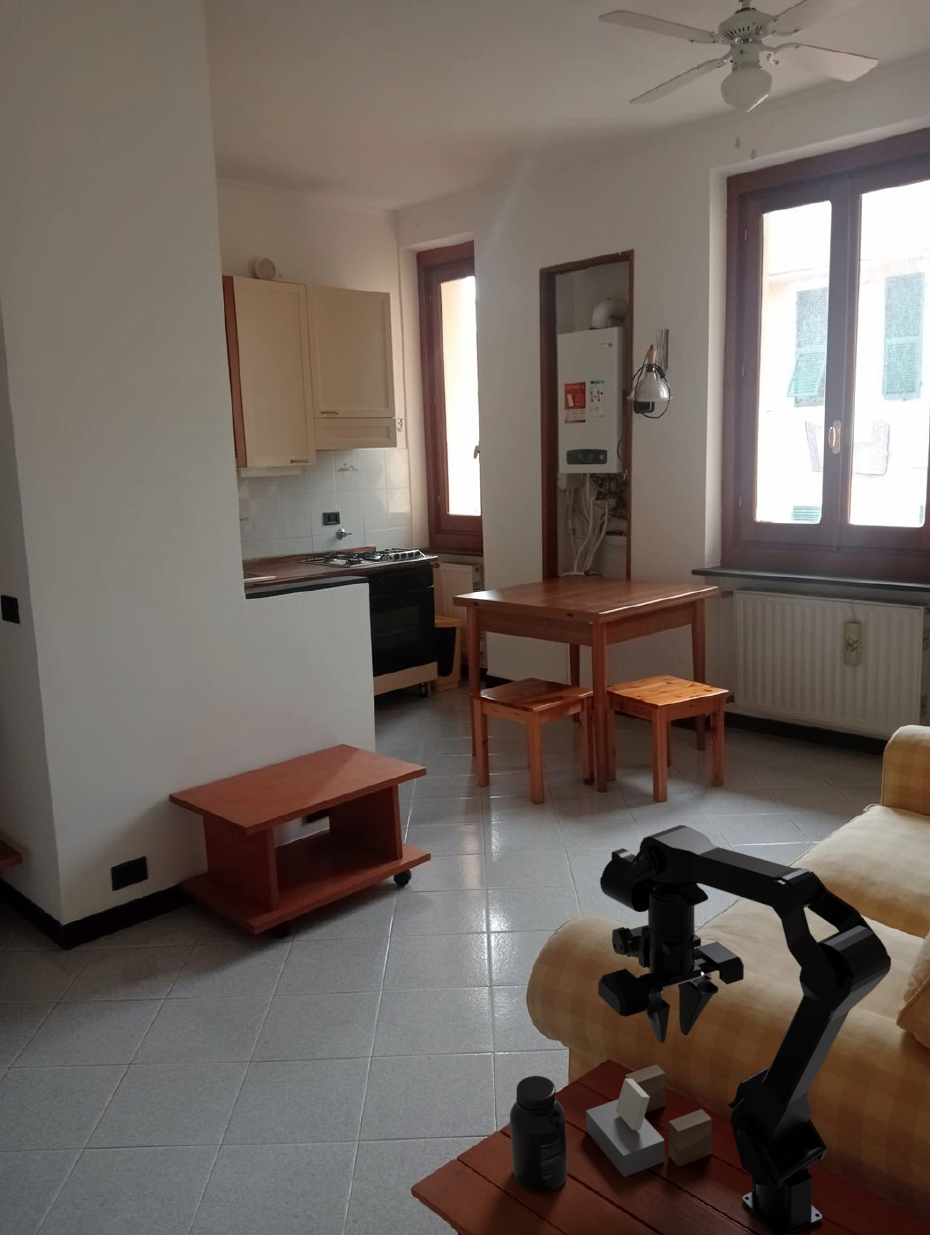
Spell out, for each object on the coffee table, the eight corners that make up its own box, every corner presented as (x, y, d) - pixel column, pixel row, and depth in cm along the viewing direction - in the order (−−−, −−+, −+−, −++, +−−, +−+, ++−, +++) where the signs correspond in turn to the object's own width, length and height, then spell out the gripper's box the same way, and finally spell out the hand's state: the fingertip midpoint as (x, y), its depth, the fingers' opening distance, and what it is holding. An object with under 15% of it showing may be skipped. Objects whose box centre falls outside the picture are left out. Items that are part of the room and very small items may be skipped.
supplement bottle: (567, 1155, 121) (564, 1070, 119) (568, 1196, 114) (565, 1107, 112) (513, 1153, 122) (510, 1069, 120) (511, 1194, 115) (507, 1106, 113)
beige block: (711, 1153, 120) (711, 1118, 119) (678, 1167, 118) (678, 1131, 117) (701, 1143, 122) (701, 1108, 121) (669, 1156, 120) (668, 1121, 119)
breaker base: (664, 1161, 119) (664, 1139, 119) (623, 1177, 117) (623, 1155, 116) (625, 1116, 127) (625, 1096, 127) (586, 1130, 125) (586, 1110, 124)
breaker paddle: (640, 1130, 120) (649, 1097, 120) (632, 1130, 120) (642, 1096, 119) (623, 1110, 124) (632, 1078, 123) (615, 1110, 123) (624, 1078, 123)
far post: (665, 1105, 129) (665, 1072, 128) (634, 1117, 127) (633, 1083, 126) (656, 1096, 131) (656, 1064, 130) (625, 1108, 129) (625, 1074, 128)
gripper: (693, 883, 131) (693, 987, 133) (574, 915, 124) (577, 1024, 126) (747, 918, 121) (746, 1030, 123) (621, 955, 114) (623, 1072, 116)
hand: (672, 1037), depth 123 cm, fingers open, 3 cm apart
